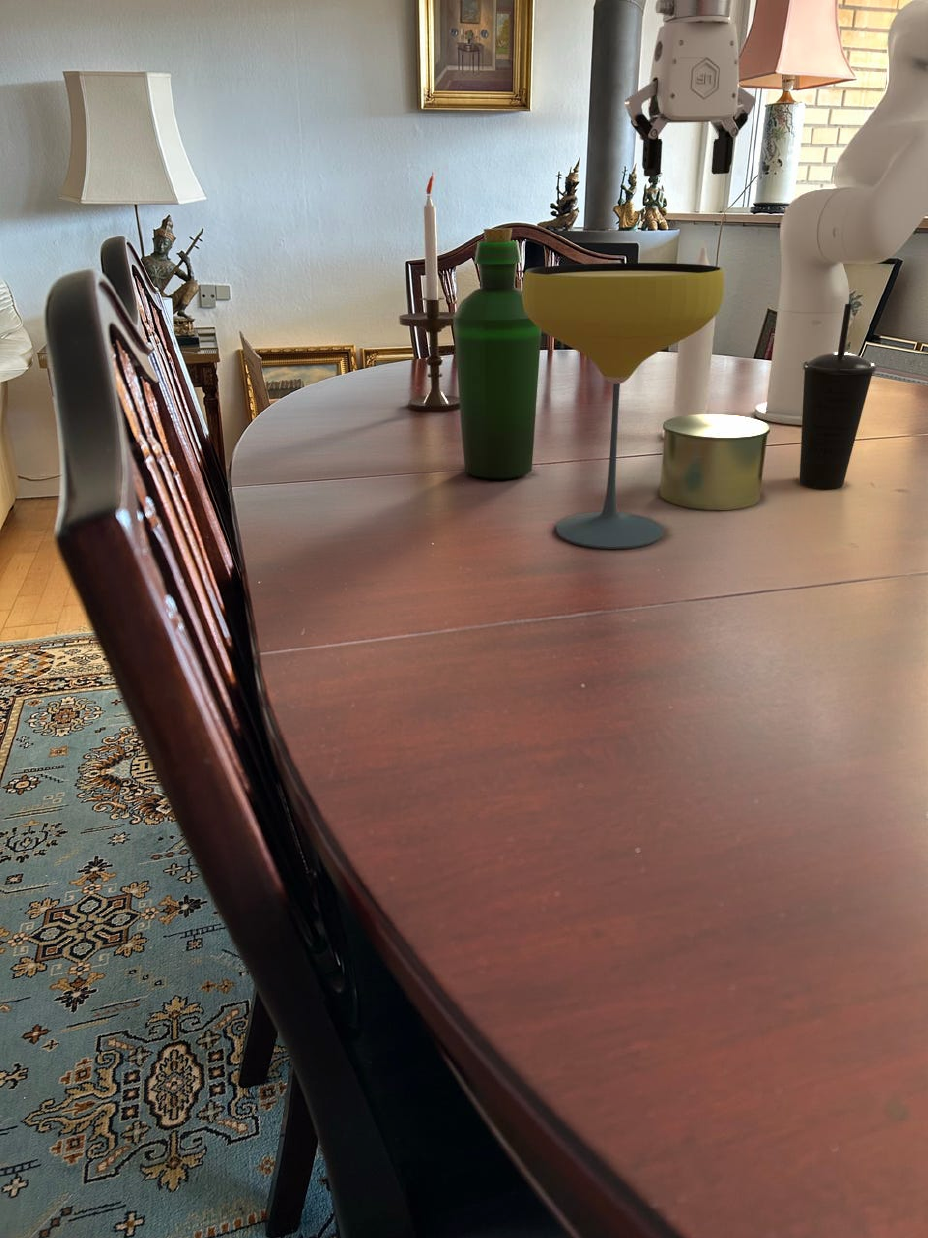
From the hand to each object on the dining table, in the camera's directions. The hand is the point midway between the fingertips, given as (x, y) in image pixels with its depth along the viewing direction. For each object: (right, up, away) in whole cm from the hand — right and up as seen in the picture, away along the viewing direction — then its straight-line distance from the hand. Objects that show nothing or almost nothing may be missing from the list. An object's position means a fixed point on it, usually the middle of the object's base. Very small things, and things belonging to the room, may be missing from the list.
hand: (686, 174), depth 112 cm
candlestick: (-33, -20, +37) cm, 54 cm away
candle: (+4, -30, +14) cm, 34 cm away
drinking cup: (+14, -40, -7) cm, 43 cm away
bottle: (-24, -38, 0) cm, 44 cm away
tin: (0, -42, -11) cm, 43 cm away
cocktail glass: (-13, -47, -21) cm, 53 cm away
